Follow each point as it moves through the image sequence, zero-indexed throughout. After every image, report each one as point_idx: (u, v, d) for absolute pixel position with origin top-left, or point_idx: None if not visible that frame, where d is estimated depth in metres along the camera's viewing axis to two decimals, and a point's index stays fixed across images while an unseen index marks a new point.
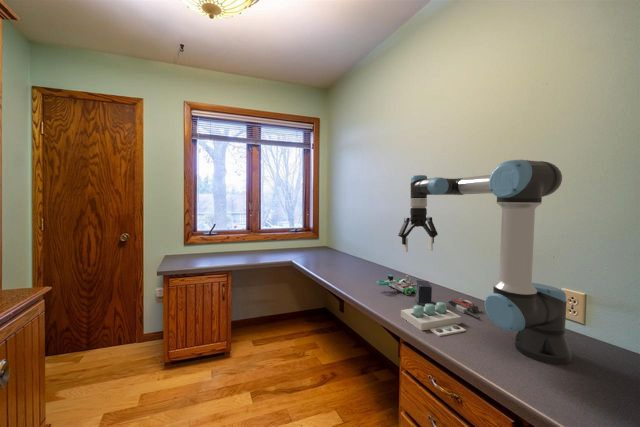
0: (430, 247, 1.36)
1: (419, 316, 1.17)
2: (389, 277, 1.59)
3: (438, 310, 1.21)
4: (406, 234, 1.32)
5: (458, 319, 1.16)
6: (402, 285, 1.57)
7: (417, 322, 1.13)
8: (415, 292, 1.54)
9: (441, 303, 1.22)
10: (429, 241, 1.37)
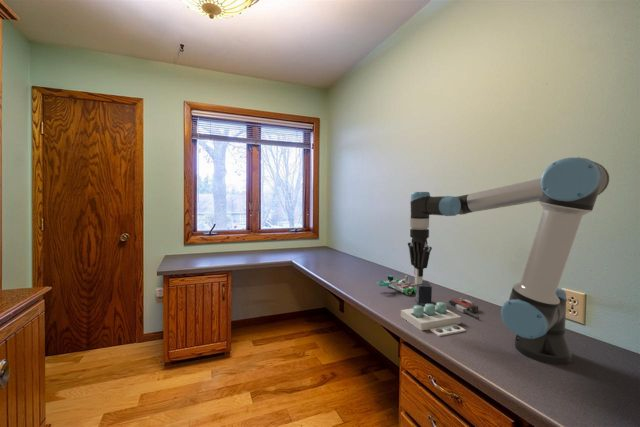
0: None
1: (419, 316, 1.17)
2: (389, 278, 1.58)
3: (438, 310, 1.21)
4: (414, 263, 1.19)
5: (458, 319, 1.16)
6: (402, 285, 1.56)
7: (417, 322, 1.13)
8: (415, 292, 1.54)
9: (441, 303, 1.22)
10: None
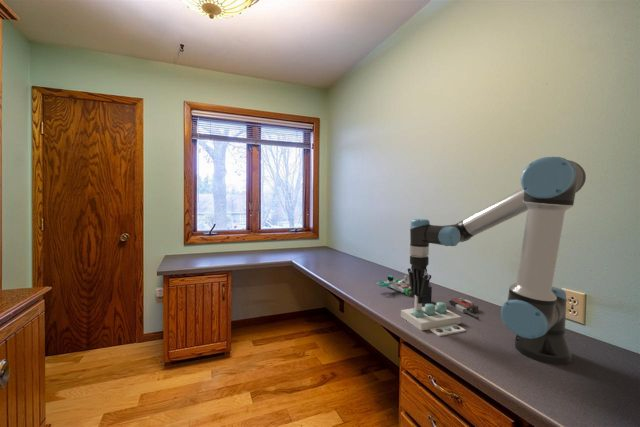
0: None
1: None
2: (389, 278, 1.58)
3: (438, 310, 1.21)
4: (413, 289, 1.19)
5: (458, 319, 1.16)
6: (402, 286, 1.56)
7: (417, 322, 1.13)
8: None
9: (441, 303, 1.22)
10: None
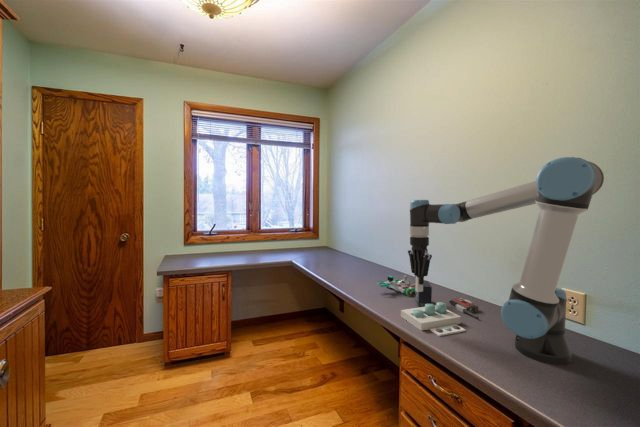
0: None
1: None
2: (389, 278, 1.57)
3: (438, 310, 1.21)
4: (414, 270, 1.19)
5: (458, 319, 1.16)
6: (402, 286, 1.55)
7: (417, 322, 1.13)
8: (415, 293, 1.53)
9: (441, 303, 1.22)
10: None
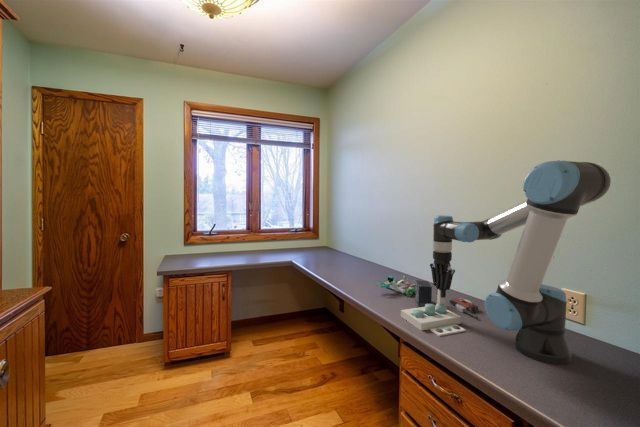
0: None
1: None
2: (389, 279, 1.56)
3: (438, 311, 1.21)
4: (436, 283, 1.23)
5: (458, 319, 1.16)
6: (402, 286, 1.55)
7: (417, 322, 1.13)
8: (415, 293, 1.53)
9: (441, 304, 1.22)
10: None
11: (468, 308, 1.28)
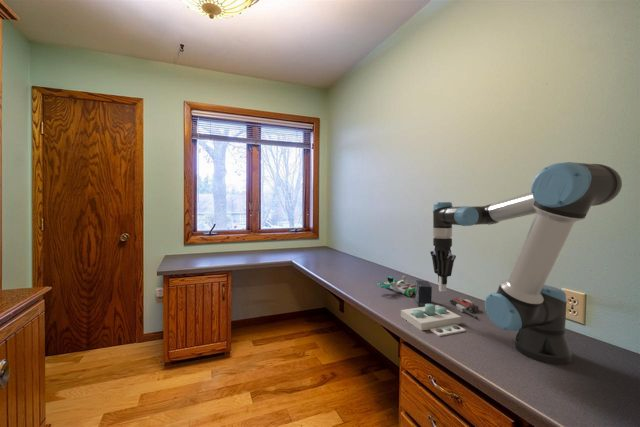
0: None
1: None
2: (389, 279, 1.55)
3: None
4: (437, 271, 1.22)
5: (458, 319, 1.16)
6: (402, 286, 1.54)
7: (417, 322, 1.13)
8: None
9: (441, 307, 1.23)
10: None
11: (468, 308, 1.29)
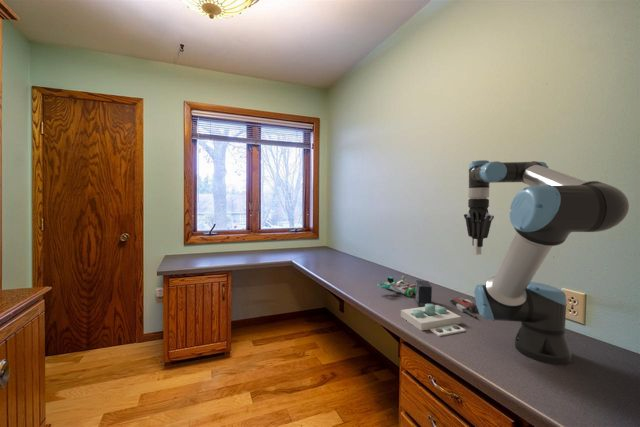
0: None
1: None
2: (389, 279, 1.55)
3: None
4: (472, 233, 1.17)
5: (458, 319, 1.16)
6: (403, 287, 1.54)
7: (417, 322, 1.13)
8: None
9: (441, 307, 1.23)
10: None
11: (468, 308, 1.29)
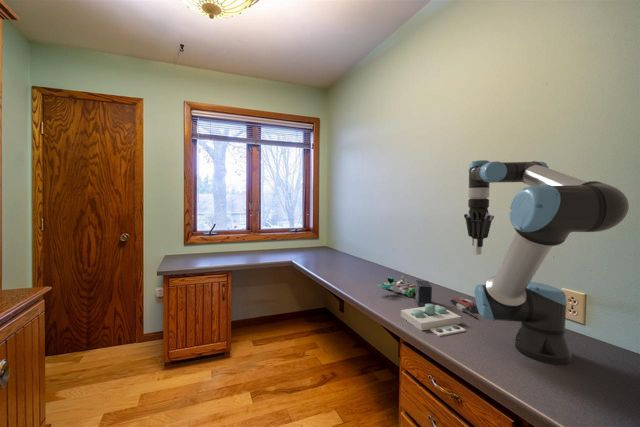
0: None
1: None
2: (389, 279, 1.54)
3: None
4: (472, 233, 1.17)
5: (458, 319, 1.16)
6: (403, 287, 1.53)
7: (417, 322, 1.13)
8: None
9: (441, 307, 1.23)
10: None
11: (468, 307, 1.29)
